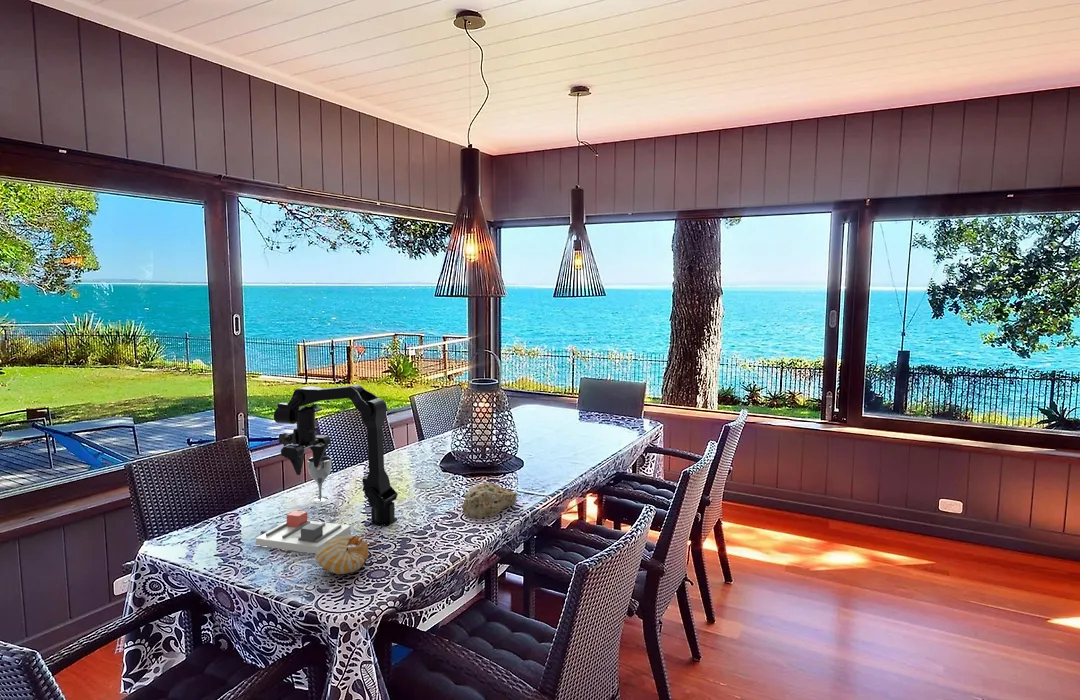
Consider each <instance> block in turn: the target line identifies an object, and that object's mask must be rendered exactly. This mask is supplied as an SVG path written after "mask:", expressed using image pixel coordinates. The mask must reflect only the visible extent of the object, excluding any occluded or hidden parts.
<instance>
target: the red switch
mask: <svg viewBox="0 0 1080 700" xmlns="http://www.w3.org/2000/svg"><path fill="white" fill-rule="evenodd" d="M286 521H287V526H292V527H298V526H300V525H302V524H304V523H305V522H307V521H308V511H306V510H297V509H294V510H292V511H291V512H289V513H287V514H286Z"/></svg>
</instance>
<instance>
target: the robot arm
mask: <svg viewBox="0 0 1080 700" xmlns="http://www.w3.org/2000/svg"><path fill="white" fill-rule="evenodd" d="M341 399H342V400H343V399H348V400H350V401H351V402H352V405H353V407H354V408H355V409H356V410H357V411H358V412H360V418H361V421H362V423H363V424H364V426H365V429H366V437H367V439H366V441H367V455H368V457H367V459H368V460H367V461H368V474H367V476H364V477H363V478H362V480H361V481H362V486H363V487H362V490H361V491H362V492H364V496H365V498H366V499H367V500H368V501H367V502H368V503H369V504H368V505H369V507H370V508H371V510H370V511H371V512H370V513H371V515H370V516H371V518H370V519H371V521H369V524H370V525H374V526H375V525H376V526H386V527H388V526H390V525H391V524H393V523H394V522H396V521H397V520H398V517H397V516H396V515H395V514H396V513H395V512H396V511H395V501H396V500H397V498H398V495H399V494H398V493H397V491H396V490H395V489H394V488H393V487H392V486H391V482H390V481H391V480H390V477H389V475H388V474H387V472H386V470H385V459H384V456H385V455H384V454H385V453H384V439H383V438H384V435H383V432H384V431H383V426H384V422H385V420H386V417H387V409H388V407H387V403H386V401H384V400H383V399H381V398H379V397H378V396H377V395H376V394H374V393H372V392H370V391H369V390H367V389H365V388H364V387H363V386H362V385H360V384H353V385H348V386H338V387H337V386H335V387H326V388H325V387H320V386H315V385H314V386H312V385H310V386H304V387H300V388H295V390H294V391H293V393H292V397H290V400H289V401H288V403H287V402H280V403H278V404H277V407H276V409H275V411H274V413H273V420H274V422H275V423H277V424H284V425H285V424H286V425H295V424H296V428H293V431H292V432H293V433H290V434H288V433H286V432H284V433H280V434H279V435H278V442H279V445H280V444H281V445H283V446H282V448H281V449H280V457H283V458H285V459H288V460H289V461H290V462H291V465H292V466H293V469H294V471H295V474H296V476H301V474H302V471H303V465H304V460H305V455H304V454H305V450H307V449H310V450H311V452H312V457H313V461H314V467H318V465H319V463H320V461H321V459H322V457H323V456H325V453H326V451H327V449H328V448H329V445H331V443H332V439H331V437H330V436H329V435H325V434H324V435H323V434H322V435H321V434H316V431H319V427H318V426H316V413H318V412H321V411H322V408H320V407H319V406H317V404H316V403H317V402H320V401H321V402H322V401H331V400H333V401H334V400H341ZM308 405H310V406H308ZM300 407H301V408H300Z"/></svg>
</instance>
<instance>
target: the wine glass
mask: <svg viewBox="0 0 1080 700" xmlns="http://www.w3.org/2000/svg"><path fill="white" fill-rule="evenodd" d="M306 461H307V471H308V474H309V476H310V477H311V478H312V479H313V480H314V481H315V483H316V484H317V486H318V497H317V496H316V497H317V498H316V497H314V498H315V499H314V501H325V500H327V499H328V498H327V497H328V496H322V487H323V483H324V481H326V479H327V478H328V477H329V475H330V473H331V469H332V457H331V456H329V455H323V457H322V459H321V461H320V463H319V465H318V467H314V461H313V456H311V457H309V458H308V459H307V460H306Z"/></svg>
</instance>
